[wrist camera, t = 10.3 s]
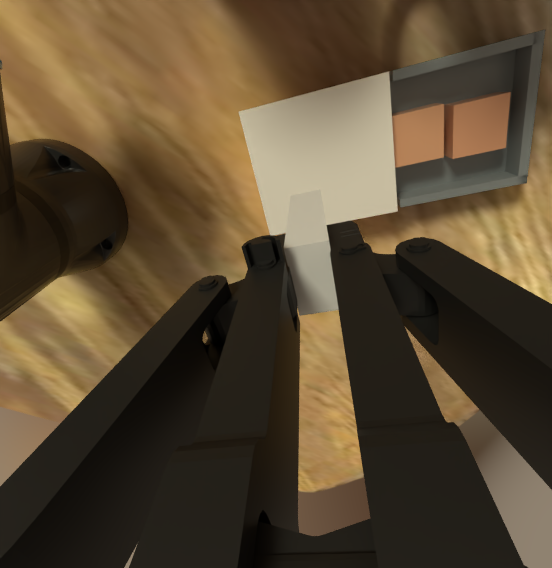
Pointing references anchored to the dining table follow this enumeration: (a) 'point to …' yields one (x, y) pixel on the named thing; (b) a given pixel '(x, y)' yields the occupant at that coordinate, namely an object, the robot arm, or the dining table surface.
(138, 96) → the dining table surface
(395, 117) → the tile
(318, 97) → the board
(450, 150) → the tile
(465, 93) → the tray
